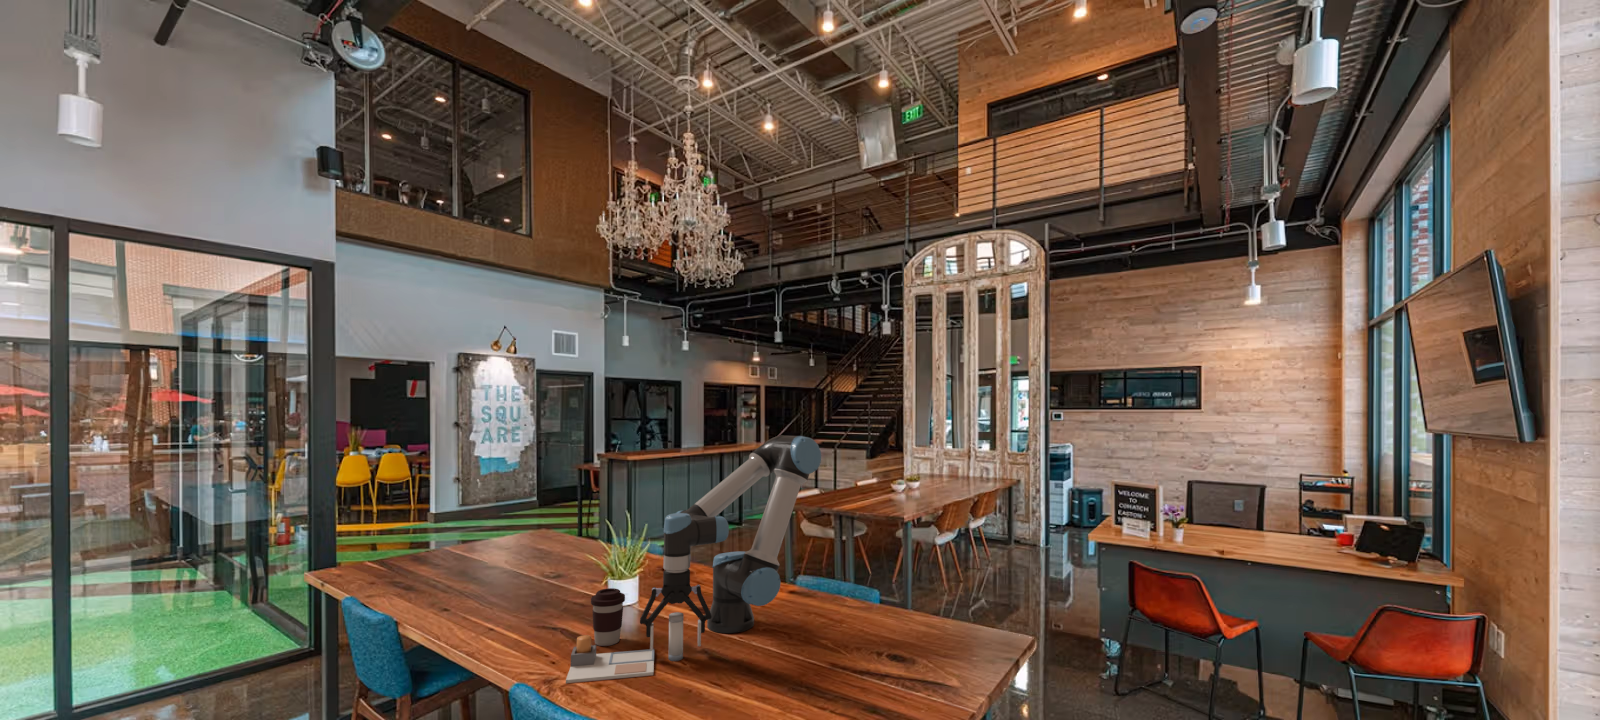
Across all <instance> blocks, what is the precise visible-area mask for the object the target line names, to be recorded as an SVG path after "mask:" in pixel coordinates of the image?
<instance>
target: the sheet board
mask: <svg viewBox="0 0 1600 720" xmlns="http://www.w3.org/2000/svg"><path fill="white" fill-rule="evenodd" d="M571 651H572V652H571V653H570V667H569V671H568V673H567V675H566V679H565V684H571V683H572V684H574V683H584V682H596V681H604V680H615V679H618V680H619V679H627V678H635V677H637V678H638V677H647V676H648V677H649V676H650V677H651V676H654V671H655V669H654V668H655V667H654V666H655V665H654V663H655V648H653V650H650V648H649V649H639V650H628V651H627V650H626V651H615V652H614V651H613V652H602V653H597V645H596V644H594V645H593V644H591V652H590V653H578V654H577V646H573V649H572V650H571Z"/></svg>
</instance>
